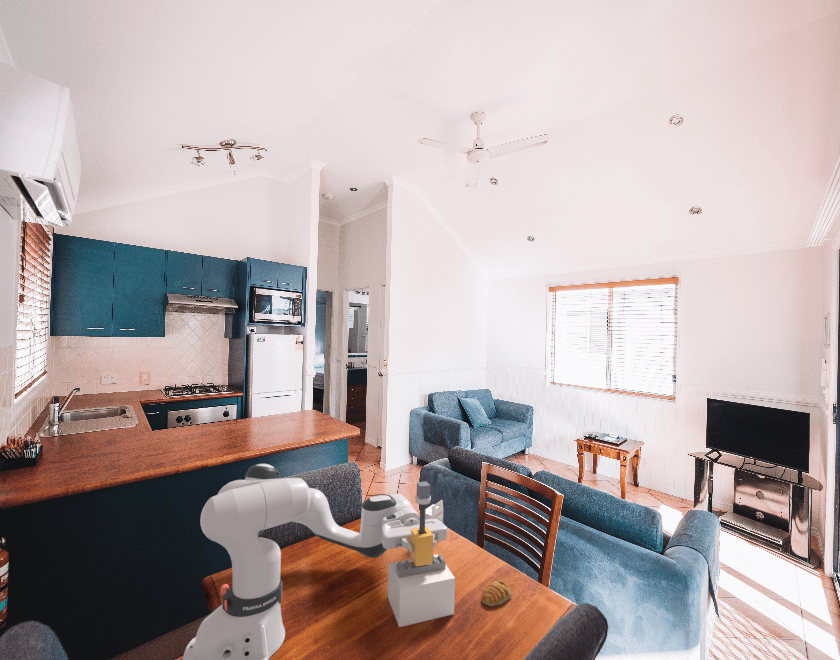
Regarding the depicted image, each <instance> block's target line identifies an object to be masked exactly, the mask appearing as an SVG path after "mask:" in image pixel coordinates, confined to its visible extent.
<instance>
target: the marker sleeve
mask: <svg viewBox="0 0 840 660" xmlns="http://www.w3.org/2000/svg"><path fill="white" fill-rule="evenodd" d="M411 543H413V544H414V547H415V548H414V551H413V552H409V553H410V554H409V555H410V559H412V560H413V562H414V564H415V566H422V565H427V564H432V563H433V555H434V554H433V553H434V548H433V534H432V533H431V531H430V530H429V528H428V527H425V534H419V528H414V529H411Z"/></svg>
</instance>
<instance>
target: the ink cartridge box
mask: <svg viewBox="0 0 840 660" xmlns="http://www.w3.org/2000/svg"><path fill="white" fill-rule="evenodd" d="M427 519H438V520H440V521H441V522H442V523H443V524H444V500H443V499H441V500H440V501H437V503H434V504H431V505H430V506H428V507H427V508H426V510H425V520H427ZM438 542H439V541H435V543H436V544H437V543H438Z"/></svg>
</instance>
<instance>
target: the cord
mask: <svg viewBox="0 0 840 660" xmlns="http://www.w3.org/2000/svg"><path fill="white" fill-rule="evenodd" d="M431 499H432V497H431V484H430V483H428V481H417V482H416V494H415V500H414V501H415V503H416V504H417V505H419V516H420V526H419V534H425V510H426V509H427V508H426V506H427V505H429V504H430V503H431Z"/></svg>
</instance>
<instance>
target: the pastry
mask: <svg viewBox="0 0 840 660" xmlns="http://www.w3.org/2000/svg"><path fill="white" fill-rule="evenodd" d="M511 597H512V592H511V589H510V588H509V586H508V584H507V582H505V581H504V580H502V579H501V580H500V579H496V580H494V581H493V582H490V583H489V584H488V585H487V586H486V587H485V588H484V590H483V594H482V595H481V601H482V603H483V604H484V605H486V606H488V607H495V606H501V605H503V604H504V603H506V602H507V601H508V600H509V599H511Z"/></svg>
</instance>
